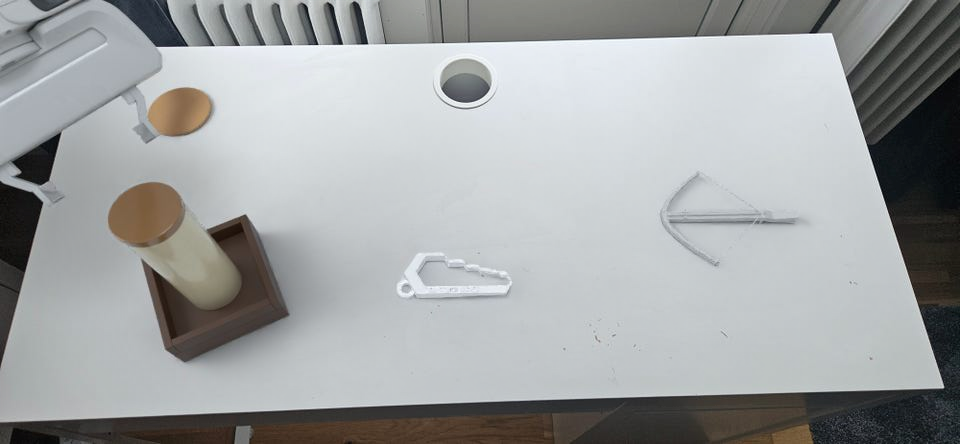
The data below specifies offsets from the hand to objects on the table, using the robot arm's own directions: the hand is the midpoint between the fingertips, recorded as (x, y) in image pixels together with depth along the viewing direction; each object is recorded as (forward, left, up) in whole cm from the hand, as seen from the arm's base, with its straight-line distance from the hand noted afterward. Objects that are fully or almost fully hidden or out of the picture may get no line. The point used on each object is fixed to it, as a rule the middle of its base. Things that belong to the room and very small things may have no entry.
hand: (107, 169), depth 53 cm
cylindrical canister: (+2, -7, -15) cm, 17 cm away
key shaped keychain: (+26, -17, -18) cm, 36 cm away
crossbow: (+59, -25, -18) cm, 67 cm away
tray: (+2, -7, -17) cm, 19 cm away
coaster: (+4, +21, -17) cm, 28 cm away
